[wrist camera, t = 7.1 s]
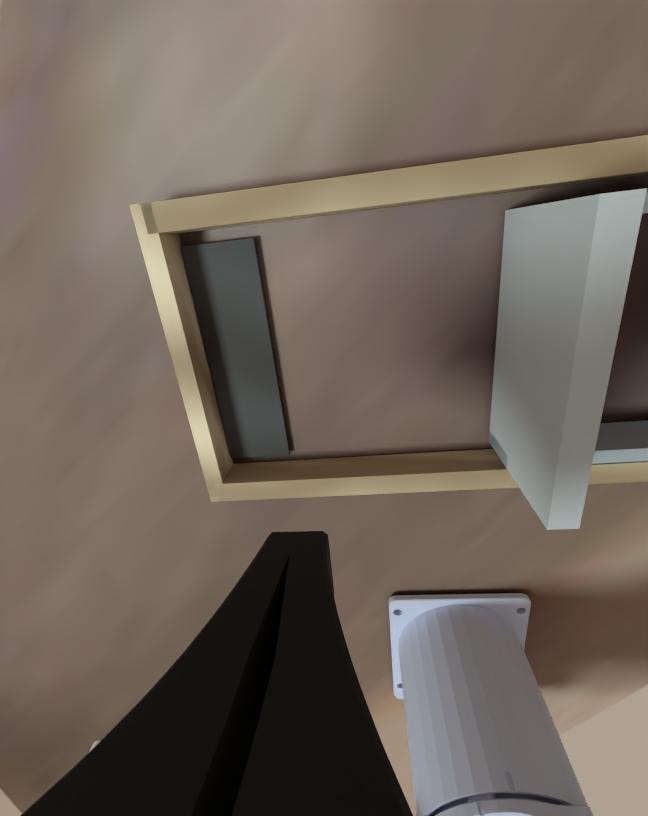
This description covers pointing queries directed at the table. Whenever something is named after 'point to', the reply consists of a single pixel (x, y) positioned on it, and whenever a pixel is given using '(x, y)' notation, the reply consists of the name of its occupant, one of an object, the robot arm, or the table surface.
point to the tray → (563, 347)
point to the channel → (250, 332)
